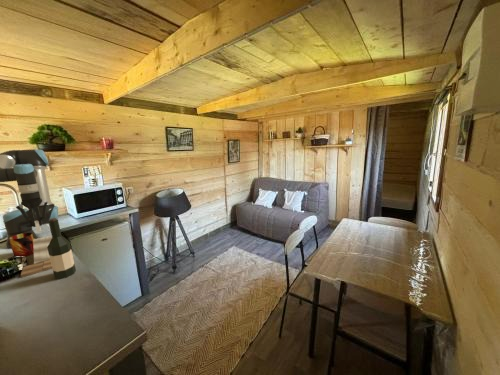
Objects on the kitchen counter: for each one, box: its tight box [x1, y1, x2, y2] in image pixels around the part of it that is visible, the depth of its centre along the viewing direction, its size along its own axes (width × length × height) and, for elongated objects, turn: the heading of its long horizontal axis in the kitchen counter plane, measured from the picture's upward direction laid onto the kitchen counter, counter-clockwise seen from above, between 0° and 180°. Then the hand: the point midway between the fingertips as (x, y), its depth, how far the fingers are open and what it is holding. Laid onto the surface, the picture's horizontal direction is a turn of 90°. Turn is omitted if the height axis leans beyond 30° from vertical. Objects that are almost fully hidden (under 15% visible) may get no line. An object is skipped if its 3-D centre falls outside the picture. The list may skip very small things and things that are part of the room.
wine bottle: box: [47, 218, 77, 280], centre depth 105 cm, size 8×8×30 cm
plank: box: [33, 235, 52, 264], centre depth 124 cm, size 18×8×2 cm, turn 42°
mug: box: [9, 233, 34, 257], centre depth 129 cm, size 10×14×12 cm
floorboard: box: [20, 260, 53, 278], centre depth 115 cm, size 11×16×2 cm
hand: (39, 231), depth 122 cm, fingers closed
